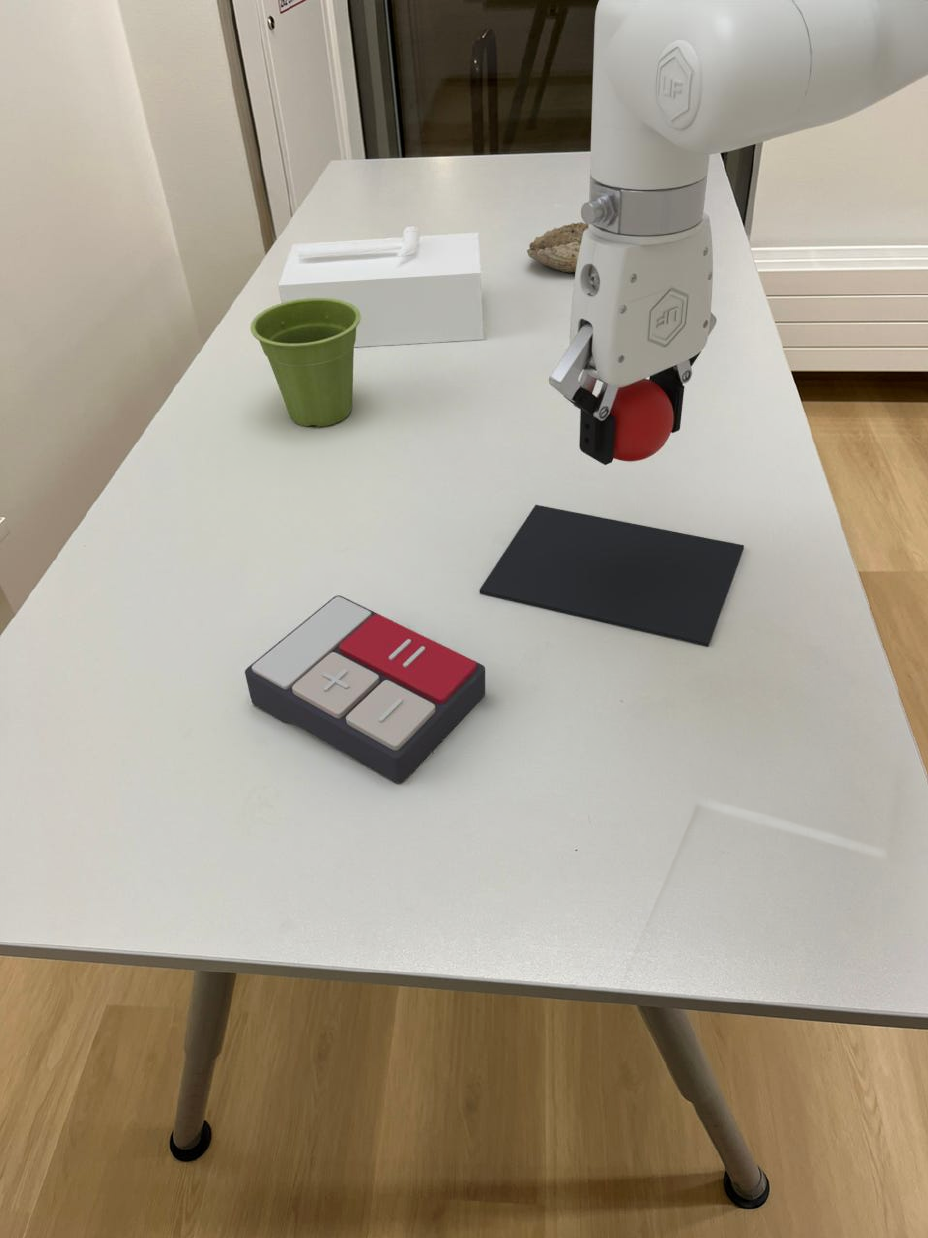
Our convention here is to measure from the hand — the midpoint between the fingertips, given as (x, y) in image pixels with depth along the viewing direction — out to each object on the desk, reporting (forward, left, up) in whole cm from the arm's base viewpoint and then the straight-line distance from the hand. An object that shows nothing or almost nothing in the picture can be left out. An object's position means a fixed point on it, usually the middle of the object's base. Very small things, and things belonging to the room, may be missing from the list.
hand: (630, 439), depth 74 cm
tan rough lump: (+29, -68, -14) cm, 75 cm away
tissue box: (+45, -43, -14) cm, 64 cm away
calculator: (+14, +21, -14) cm, 29 cm away
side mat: (+1, -1, -14) cm, 14 cm away
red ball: (0, 0, +2) cm, 2 cm away
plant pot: (+41, -18, -14) cm, 47 cm away
